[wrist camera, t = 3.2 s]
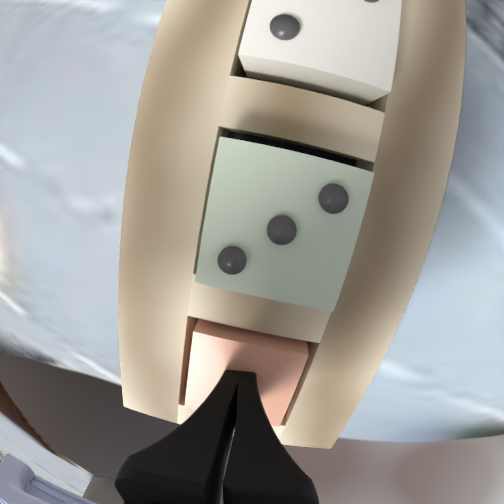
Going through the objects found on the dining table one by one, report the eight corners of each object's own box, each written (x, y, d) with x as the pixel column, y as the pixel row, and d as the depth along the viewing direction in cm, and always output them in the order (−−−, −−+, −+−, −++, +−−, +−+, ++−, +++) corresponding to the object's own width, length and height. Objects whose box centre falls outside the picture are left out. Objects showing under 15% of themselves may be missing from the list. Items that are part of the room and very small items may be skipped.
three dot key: (352, 168, 12) (376, 173, 9) (322, 278, 13) (334, 314, 10) (233, 140, 12) (218, 135, 9) (212, 254, 13) (193, 284, 10)
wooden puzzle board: (441, 15, 9) (464, -1, 7) (326, 418, 17) (330, 448, 15) (205, -41, 10) (194, -67, 7) (138, 380, 17) (123, 406, 15)
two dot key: (379, 11, 9) (404, -21, 6) (365, 105, 11) (393, 91, 8) (269, -16, 9) (267, -56, 6) (247, 77, 11) (237, 52, 8)
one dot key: (303, 319, 15) (309, 358, 12) (279, 388, 16) (279, 429, 13) (208, 298, 15) (191, 334, 12) (197, 370, 16) (183, 410, 13)
